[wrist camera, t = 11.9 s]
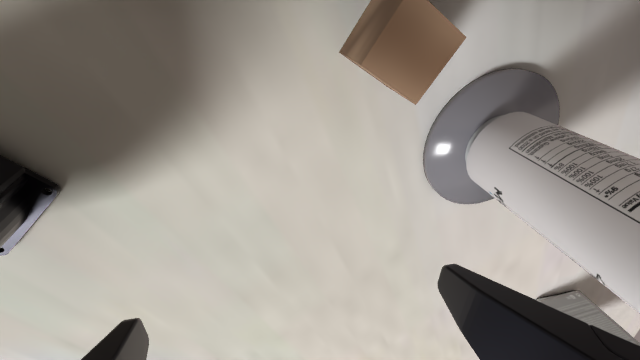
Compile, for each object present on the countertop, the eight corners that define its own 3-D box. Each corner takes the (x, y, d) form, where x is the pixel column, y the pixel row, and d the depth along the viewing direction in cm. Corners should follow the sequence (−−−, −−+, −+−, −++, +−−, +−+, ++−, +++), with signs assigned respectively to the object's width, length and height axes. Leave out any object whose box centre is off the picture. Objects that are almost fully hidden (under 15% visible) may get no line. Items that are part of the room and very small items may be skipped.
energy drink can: (446, 177, 25) (664, 370, 12) (478, 102, 22) (807, 251, 9) (507, 181, 26) (754, 353, 14) (544, 112, 23) (898, 248, 11)
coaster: (461, 220, 28) (465, 224, 28) (396, 146, 23) (400, 150, 22) (568, 137, 26) (574, 140, 26) (525, 32, 21) (533, 33, 20)
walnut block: (386, 86, 20) (415, 104, 17) (338, 52, 19) (360, 65, 15) (426, 29, 19) (466, 37, 16) (378, -14, 17) (412, -15, 14)
